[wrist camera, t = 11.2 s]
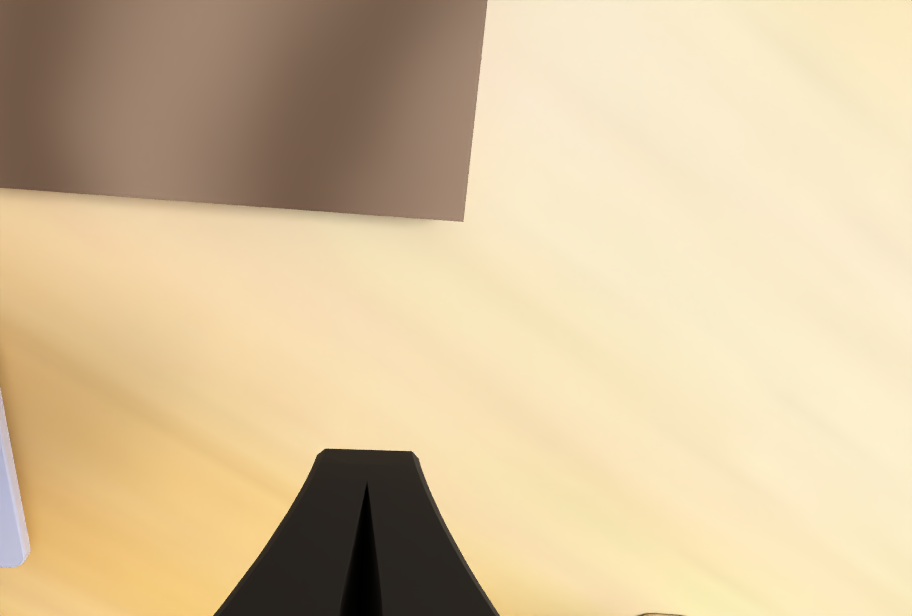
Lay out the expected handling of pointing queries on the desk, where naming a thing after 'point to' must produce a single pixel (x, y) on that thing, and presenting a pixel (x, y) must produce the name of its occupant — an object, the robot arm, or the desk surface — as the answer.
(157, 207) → the desk surface
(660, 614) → the grandmother figurine
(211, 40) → the plate
